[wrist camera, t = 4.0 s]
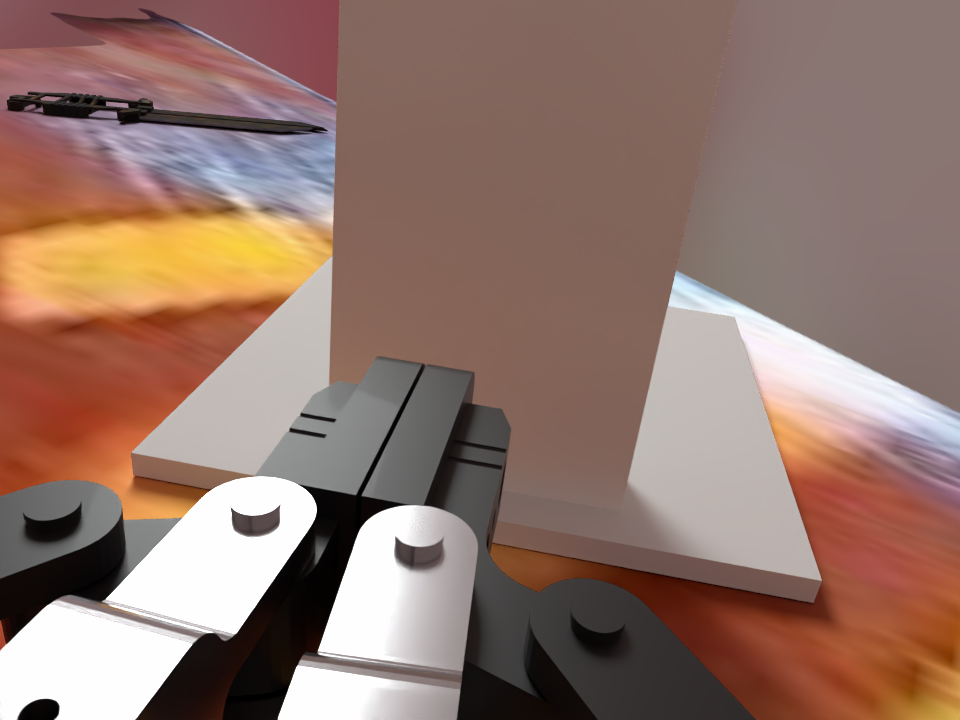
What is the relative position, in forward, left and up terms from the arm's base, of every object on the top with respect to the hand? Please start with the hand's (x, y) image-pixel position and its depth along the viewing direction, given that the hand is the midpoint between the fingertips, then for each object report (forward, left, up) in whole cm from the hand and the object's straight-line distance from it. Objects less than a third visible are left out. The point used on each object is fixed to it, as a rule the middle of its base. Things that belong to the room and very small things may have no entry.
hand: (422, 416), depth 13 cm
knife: (-33, +55, -9) cm, 65 cm away
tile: (0, +10, -8) cm, 13 cm away
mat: (0, +17, -8) cm, 19 cm away
